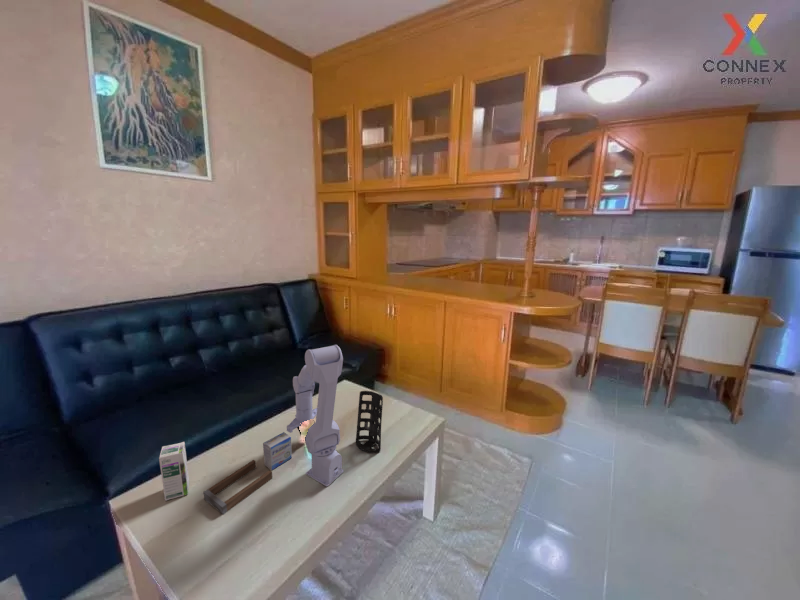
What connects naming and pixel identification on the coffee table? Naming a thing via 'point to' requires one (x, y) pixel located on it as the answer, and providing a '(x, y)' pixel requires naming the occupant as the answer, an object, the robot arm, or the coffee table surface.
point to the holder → (373, 420)
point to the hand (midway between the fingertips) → (305, 439)
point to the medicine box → (277, 451)
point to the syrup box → (174, 470)
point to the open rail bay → (241, 495)
